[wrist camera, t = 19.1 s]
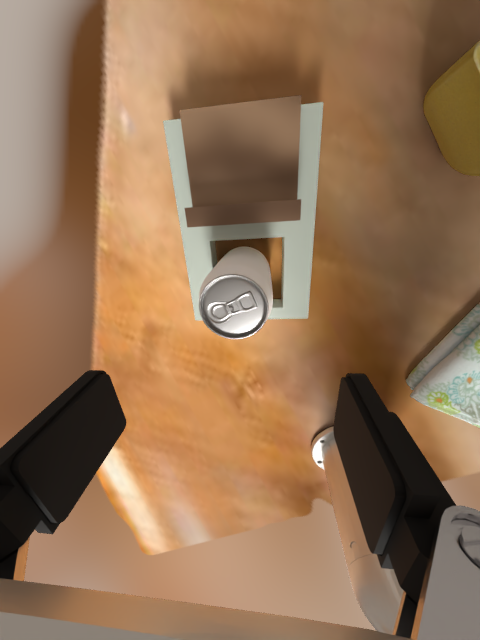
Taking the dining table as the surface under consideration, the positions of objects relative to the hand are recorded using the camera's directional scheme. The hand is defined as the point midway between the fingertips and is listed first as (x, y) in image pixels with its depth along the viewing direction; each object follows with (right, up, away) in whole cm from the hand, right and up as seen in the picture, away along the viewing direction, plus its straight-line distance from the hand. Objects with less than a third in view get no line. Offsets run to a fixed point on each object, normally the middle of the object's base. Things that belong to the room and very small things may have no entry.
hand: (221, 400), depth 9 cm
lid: (+1, +17, +12) cm, 21 cm away
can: (+1, +9, +20) cm, 22 cm away
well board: (+2, +14, +18) cm, 22 cm away
